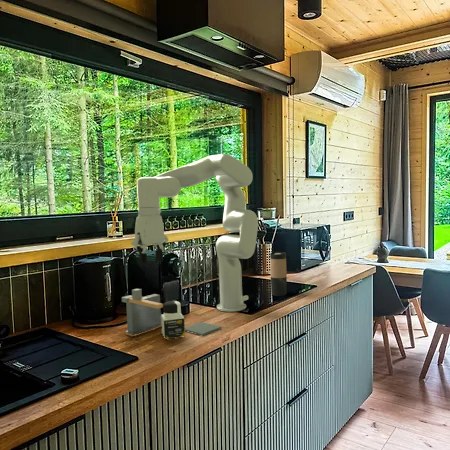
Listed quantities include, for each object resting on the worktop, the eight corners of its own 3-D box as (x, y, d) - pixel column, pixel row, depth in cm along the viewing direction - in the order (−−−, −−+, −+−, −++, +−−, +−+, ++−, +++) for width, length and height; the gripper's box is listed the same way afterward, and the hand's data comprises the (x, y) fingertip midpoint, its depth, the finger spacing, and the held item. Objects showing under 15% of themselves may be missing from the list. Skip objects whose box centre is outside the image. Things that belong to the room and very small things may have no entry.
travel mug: (286, 292, 208) (285, 251, 207) (287, 296, 201) (286, 254, 199) (270, 292, 209) (269, 252, 208) (271, 296, 202) (270, 254, 200)
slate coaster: (201, 323, 162) (201, 321, 162) (221, 328, 155) (221, 326, 155) (182, 330, 155) (182, 328, 154) (202, 336, 148) (202, 333, 148)
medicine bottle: (164, 340, 145) (163, 305, 144) (161, 333, 152) (160, 300, 151) (185, 337, 147) (183, 303, 146) (181, 331, 154) (180, 298, 153)
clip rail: (155, 324, 163) (154, 293, 162) (163, 326, 160) (162, 294, 159) (125, 334, 152) (123, 301, 151) (133, 337, 149) (131, 303, 148)
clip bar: (130, 299, 153) (129, 286, 152) (164, 307, 140) (163, 293, 140) (121, 301, 150) (121, 288, 150) (156, 309, 138) (155, 295, 137)
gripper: (161, 211, 159) (163, 258, 160) (122, 213, 146) (125, 265, 147) (174, 211, 154) (176, 260, 155) (135, 214, 141) (138, 267, 142)
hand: (151, 262), depth 151 cm, fingers open, 6 cm apart
